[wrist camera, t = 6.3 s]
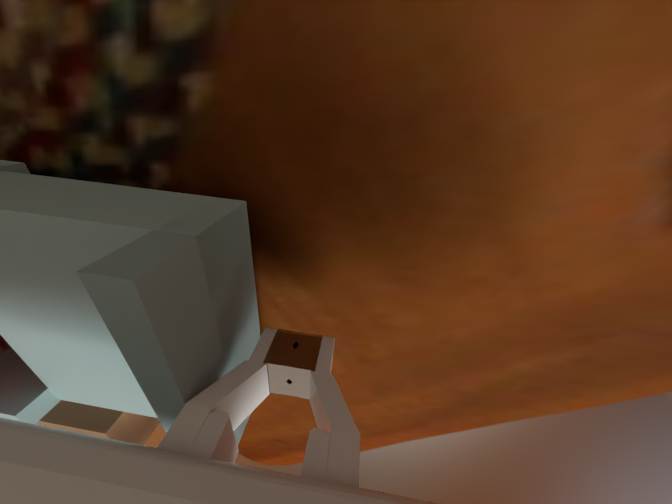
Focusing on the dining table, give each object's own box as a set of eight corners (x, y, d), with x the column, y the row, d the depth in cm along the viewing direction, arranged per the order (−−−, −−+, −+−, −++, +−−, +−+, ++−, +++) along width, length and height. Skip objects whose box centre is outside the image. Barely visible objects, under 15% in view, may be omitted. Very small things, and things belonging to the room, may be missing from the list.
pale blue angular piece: (-135, 143, 11) (-572, 167, 6) (254, 190, 10) (129, 271, 5) (14, 324, 16) (-141, 415, 12) (269, 367, 15) (221, 489, 10)
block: (113, 351, 17) (38, 420, 13) (165, 361, 17) (105, 433, 13) (132, 384, 19) (72, 452, 15) (179, 393, 19) (130, 464, 15)
